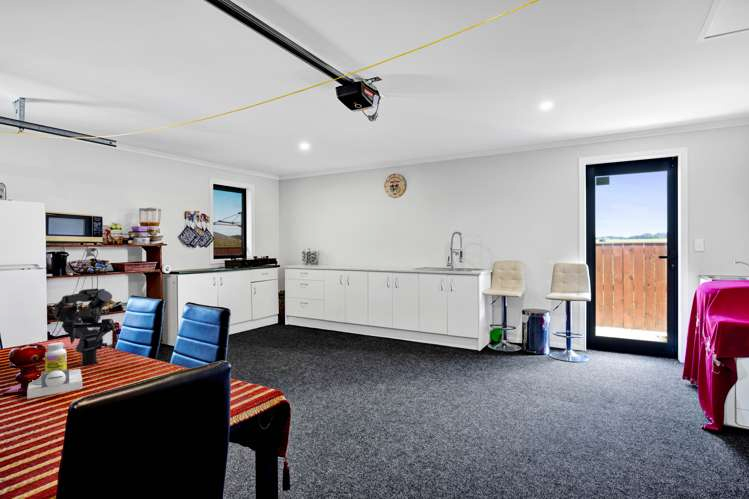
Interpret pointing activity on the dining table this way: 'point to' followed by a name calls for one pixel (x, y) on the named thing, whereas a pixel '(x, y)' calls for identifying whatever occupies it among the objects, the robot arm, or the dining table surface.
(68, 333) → the robot arm
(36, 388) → the kitchen scale
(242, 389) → the dining table surface
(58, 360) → the supplement bottle
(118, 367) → the dining table surface
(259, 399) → the dining table surface
